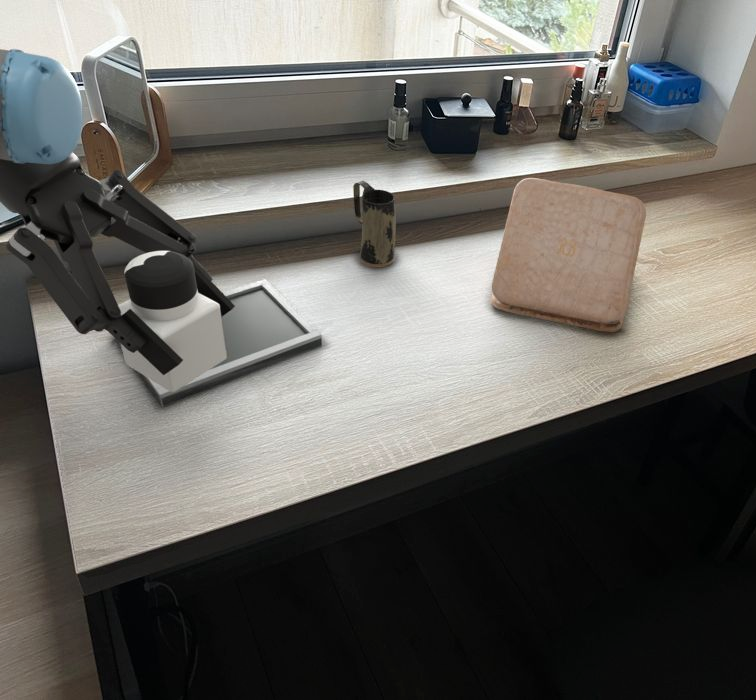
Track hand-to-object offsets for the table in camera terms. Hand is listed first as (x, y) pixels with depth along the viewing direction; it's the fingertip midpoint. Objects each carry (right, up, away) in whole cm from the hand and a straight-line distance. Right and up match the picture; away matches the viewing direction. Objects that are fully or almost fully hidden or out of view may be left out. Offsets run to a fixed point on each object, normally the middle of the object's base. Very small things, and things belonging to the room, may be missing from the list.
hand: (200, 339), depth 71 cm
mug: (+11, +14, +47) cm, 50 cm away
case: (+41, +8, +45) cm, 61 cm away
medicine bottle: (-3, -2, +3) cm, 5 cm away
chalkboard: (-7, 0, +26) cm, 27 cm away
